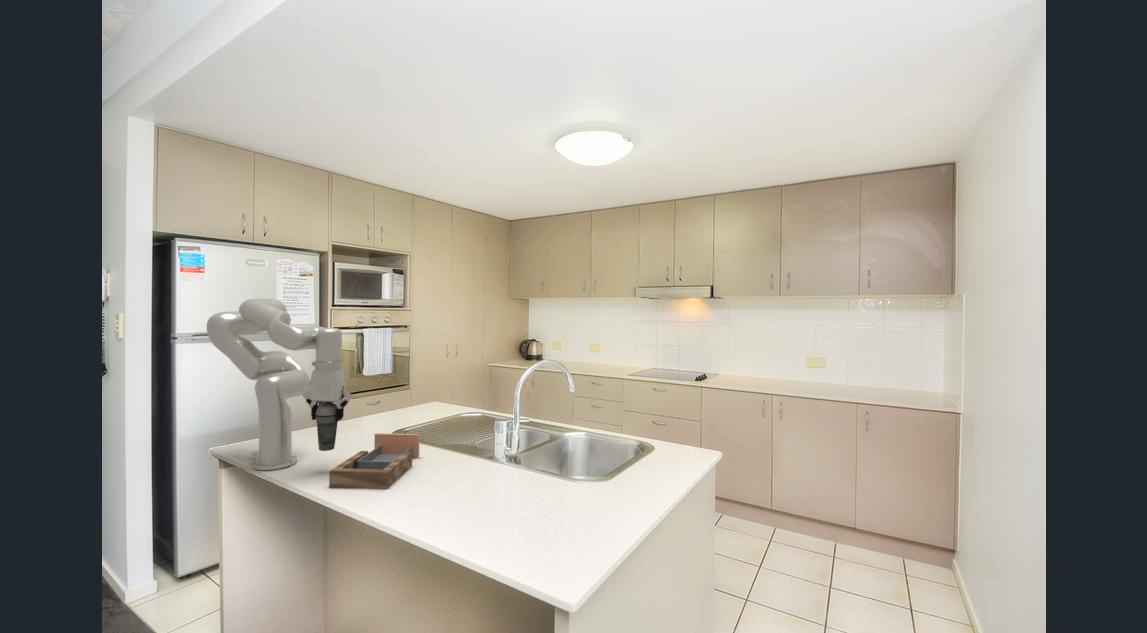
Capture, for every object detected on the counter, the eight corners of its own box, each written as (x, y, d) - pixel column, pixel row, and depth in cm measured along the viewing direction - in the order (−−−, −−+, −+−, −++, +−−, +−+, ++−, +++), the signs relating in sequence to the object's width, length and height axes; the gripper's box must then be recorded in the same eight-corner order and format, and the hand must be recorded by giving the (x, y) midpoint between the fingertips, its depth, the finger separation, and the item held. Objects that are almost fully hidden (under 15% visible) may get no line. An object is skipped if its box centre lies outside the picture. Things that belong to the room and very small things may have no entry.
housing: (361, 465, 163) (361, 450, 163) (412, 466, 163) (412, 451, 163) (329, 487, 143) (329, 471, 143) (387, 489, 143) (387, 472, 143)
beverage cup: (331, 452, 152) (333, 391, 152) (309, 451, 153) (310, 390, 152) (343, 445, 160) (344, 387, 159) (321, 444, 160) (323, 386, 159)
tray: (376, 454, 173) (376, 432, 173) (419, 455, 173) (419, 433, 173) (350, 473, 154) (350, 448, 154) (398, 474, 154) (398, 449, 153)
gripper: (295, 366, 152) (294, 421, 152) (348, 368, 151) (347, 423, 152) (309, 363, 159) (308, 415, 160) (360, 365, 159) (358, 417, 159)
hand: (327, 419), depth 156 cm, fingers closed on beverage cup, 7 cm apart
